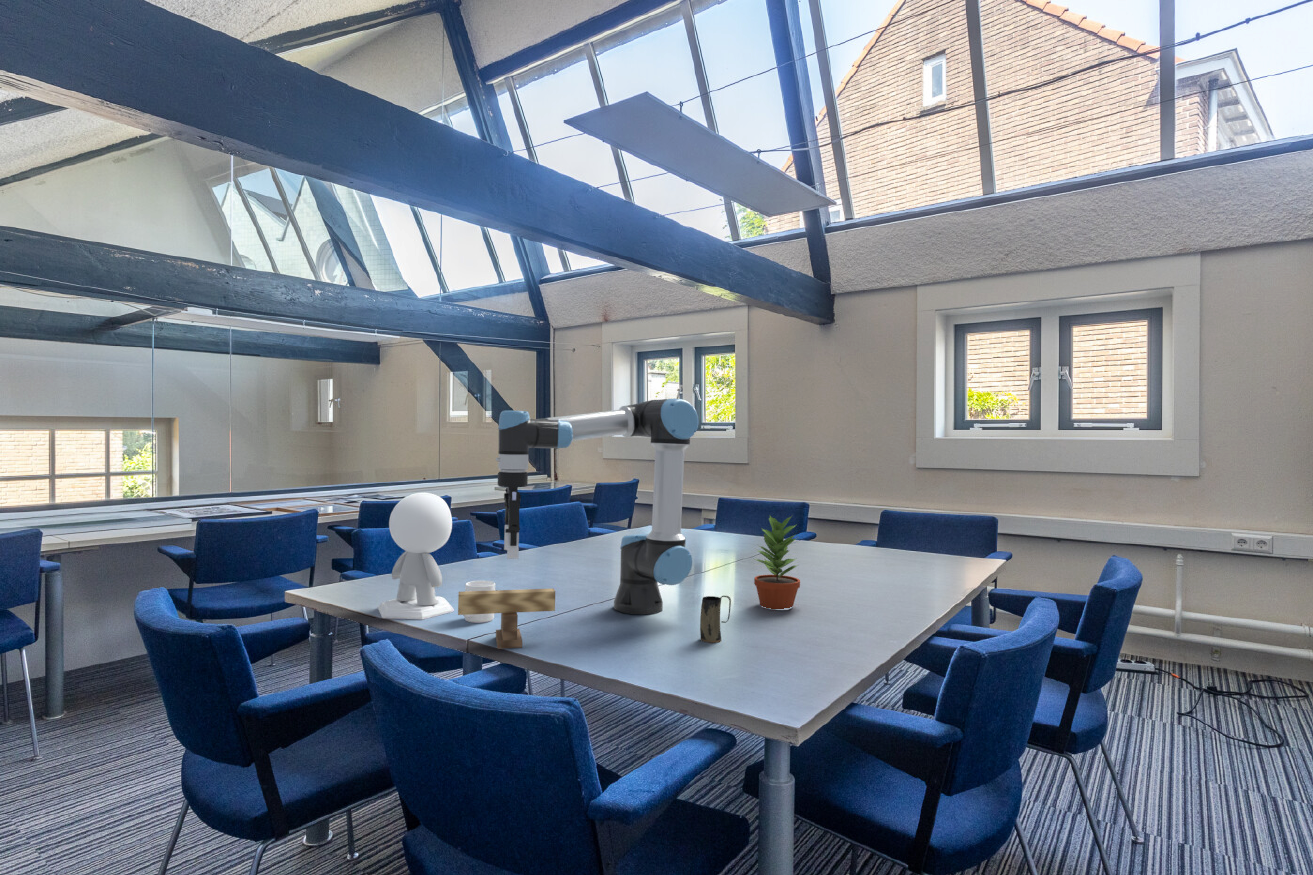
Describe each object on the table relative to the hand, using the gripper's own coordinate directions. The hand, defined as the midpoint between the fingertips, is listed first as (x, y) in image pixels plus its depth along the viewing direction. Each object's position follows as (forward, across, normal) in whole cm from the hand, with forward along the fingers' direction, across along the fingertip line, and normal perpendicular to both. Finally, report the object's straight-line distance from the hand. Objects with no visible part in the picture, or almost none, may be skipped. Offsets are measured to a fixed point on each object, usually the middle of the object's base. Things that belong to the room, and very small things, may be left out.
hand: (511, 554), depth 177 cm
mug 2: (+23, +8, +53) cm, 58 cm away
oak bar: (+14, 0, -1) cm, 15 cm away
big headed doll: (+23, -37, -25) cm, 50 cm away
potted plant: (+23, -23, +85) cm, 91 cm away
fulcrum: (+22, 0, 0) cm, 23 cm away
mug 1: (+23, -22, -8) cm, 33 cm away
